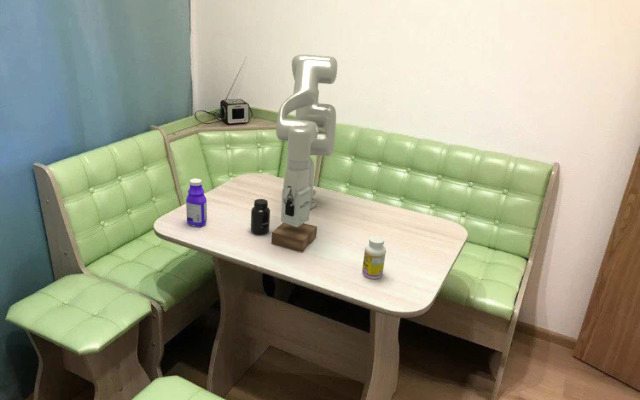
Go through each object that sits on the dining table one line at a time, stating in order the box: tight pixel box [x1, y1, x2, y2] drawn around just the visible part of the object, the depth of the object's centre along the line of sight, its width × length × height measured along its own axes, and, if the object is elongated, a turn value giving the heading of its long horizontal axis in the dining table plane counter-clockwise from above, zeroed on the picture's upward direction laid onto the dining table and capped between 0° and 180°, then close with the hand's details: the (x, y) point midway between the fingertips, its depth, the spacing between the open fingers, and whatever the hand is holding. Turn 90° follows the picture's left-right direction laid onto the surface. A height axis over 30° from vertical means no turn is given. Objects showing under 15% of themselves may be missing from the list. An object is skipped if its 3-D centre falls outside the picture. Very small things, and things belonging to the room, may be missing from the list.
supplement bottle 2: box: [361, 235, 387, 280], centre depth 156 cm, size 7×7×13 cm
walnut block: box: [270, 222, 318, 253], centre depth 174 cm, size 12×12×5 cm
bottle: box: [185, 178, 208, 227], centre depth 179 cm, size 7×6×17 cm
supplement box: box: [280, 187, 311, 227], centre depth 169 cm, size 7×7×13 cm
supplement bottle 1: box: [250, 198, 271, 236], centre depth 178 cm, size 7×7×12 cm
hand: (295, 210), depth 170 cm, fingers closed on supplement box, 7 cm apart
